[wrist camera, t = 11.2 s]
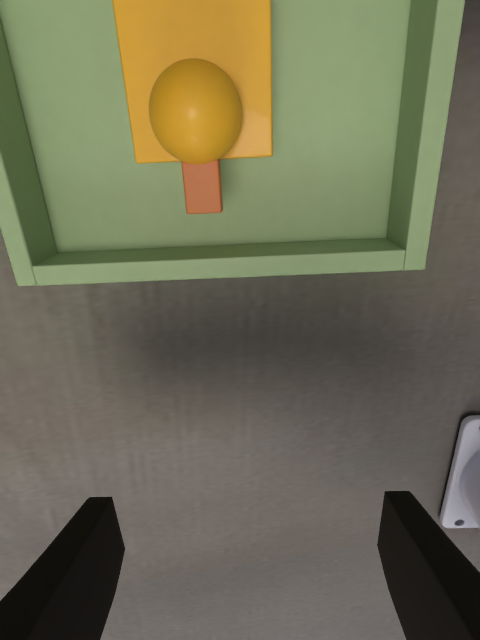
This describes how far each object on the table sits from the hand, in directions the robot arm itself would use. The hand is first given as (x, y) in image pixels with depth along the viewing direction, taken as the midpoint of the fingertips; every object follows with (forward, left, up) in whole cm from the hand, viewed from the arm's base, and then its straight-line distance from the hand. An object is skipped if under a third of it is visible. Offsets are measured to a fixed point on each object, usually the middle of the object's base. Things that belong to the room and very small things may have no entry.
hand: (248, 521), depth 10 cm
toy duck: (+1, -12, -9) cm, 15 cm away
